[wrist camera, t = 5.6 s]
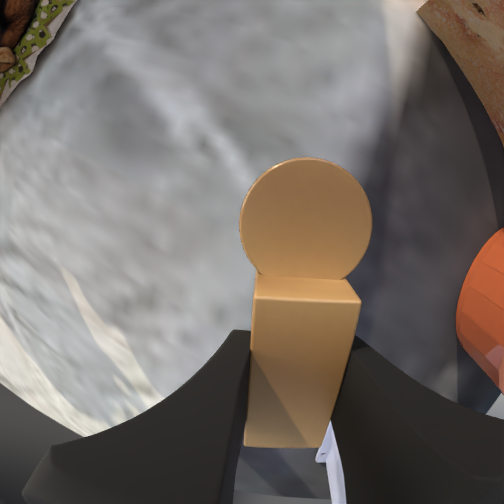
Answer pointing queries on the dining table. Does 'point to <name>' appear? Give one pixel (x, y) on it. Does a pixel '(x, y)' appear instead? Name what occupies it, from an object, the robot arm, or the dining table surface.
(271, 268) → the disc-topped wooden post
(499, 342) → the crock
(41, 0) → the bear figurine
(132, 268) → the dining table surface
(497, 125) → the stone fragment
